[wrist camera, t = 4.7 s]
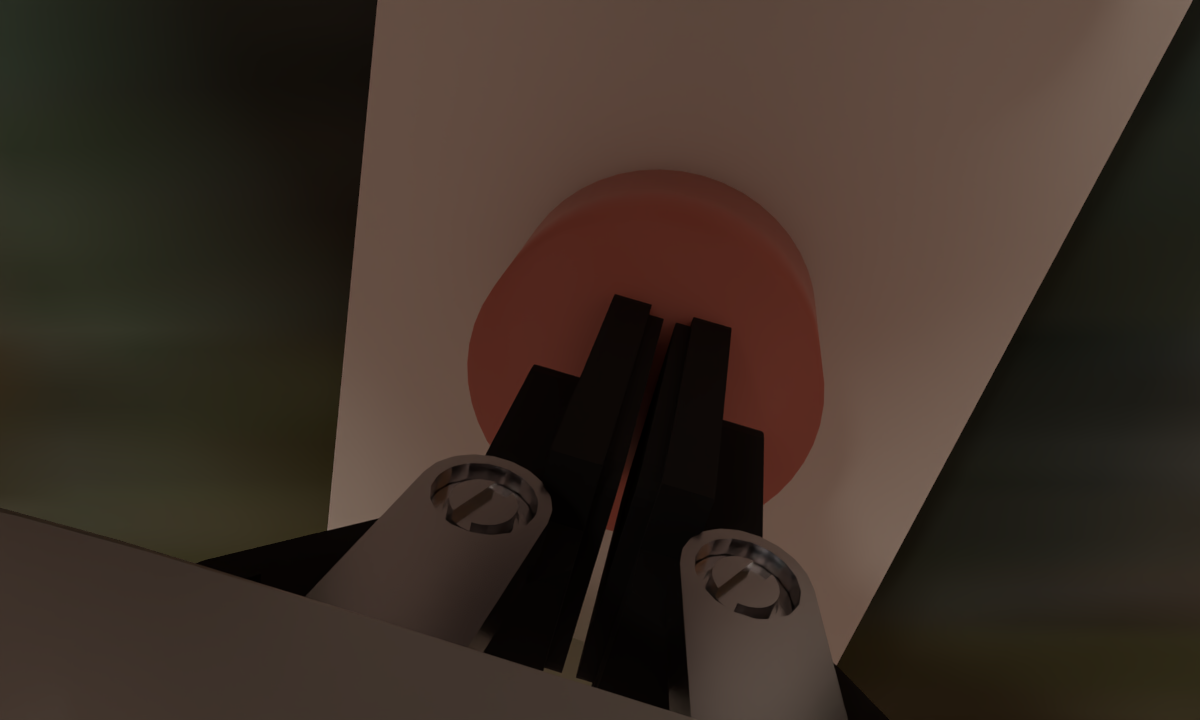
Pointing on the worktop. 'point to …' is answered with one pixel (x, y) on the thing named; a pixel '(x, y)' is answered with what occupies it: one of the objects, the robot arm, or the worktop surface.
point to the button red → (661, 304)
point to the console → (762, 172)
